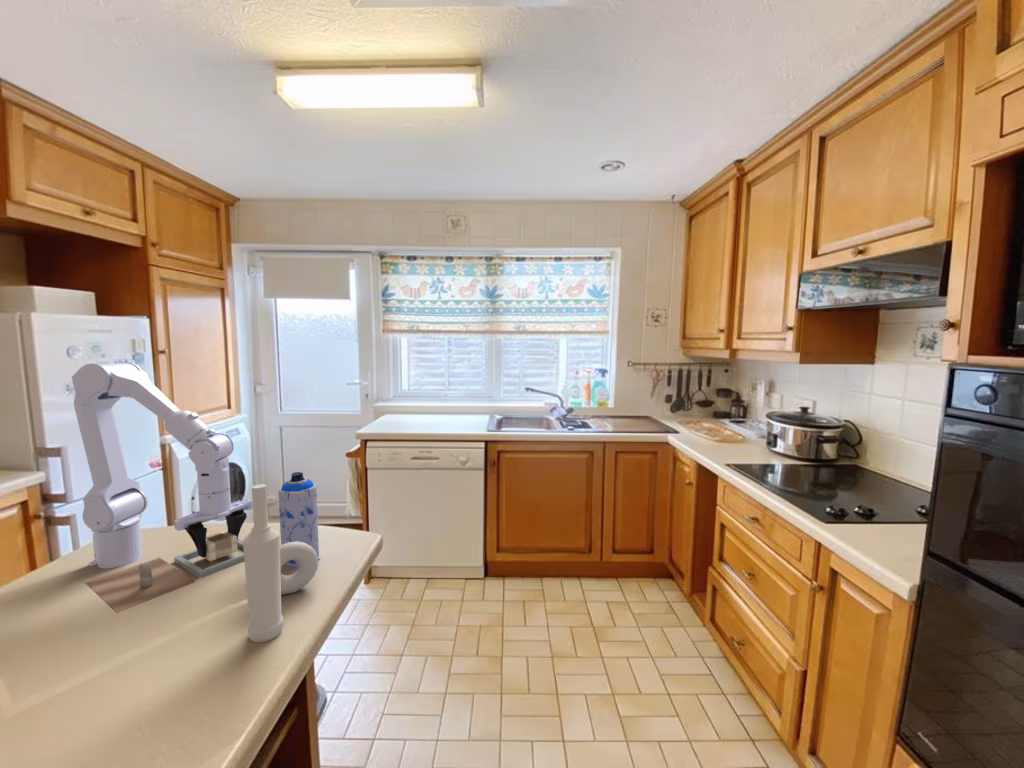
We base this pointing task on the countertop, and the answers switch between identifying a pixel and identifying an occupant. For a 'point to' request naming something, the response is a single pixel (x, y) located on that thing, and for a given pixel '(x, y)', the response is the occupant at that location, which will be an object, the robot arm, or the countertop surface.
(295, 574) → the donut
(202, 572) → the tray
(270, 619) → the bottle
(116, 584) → the stake board
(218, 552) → the hollow wooden block
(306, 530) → the aerosol can
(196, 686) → the countertop surface
